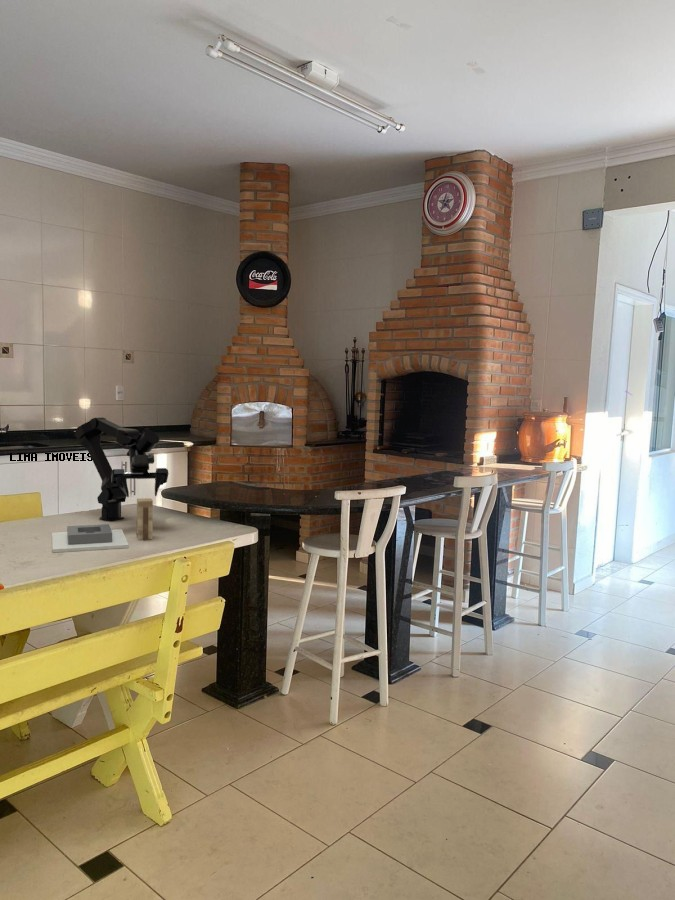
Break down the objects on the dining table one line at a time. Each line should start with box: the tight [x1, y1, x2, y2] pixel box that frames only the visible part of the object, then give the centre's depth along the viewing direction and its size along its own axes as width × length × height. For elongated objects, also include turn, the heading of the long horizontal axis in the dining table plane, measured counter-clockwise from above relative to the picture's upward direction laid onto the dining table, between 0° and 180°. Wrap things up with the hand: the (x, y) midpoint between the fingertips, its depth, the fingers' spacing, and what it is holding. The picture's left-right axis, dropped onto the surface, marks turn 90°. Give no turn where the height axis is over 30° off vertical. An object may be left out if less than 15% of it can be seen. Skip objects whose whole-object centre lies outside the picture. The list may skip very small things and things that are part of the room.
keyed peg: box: [136, 497, 154, 541], centre depth 226 cm, size 6×4×13 cm
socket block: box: [51, 523, 129, 553], centre depth 219 cm, size 22×22×4 cm
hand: (142, 496), depth 232 cm, fingers open, 9 cm apart
